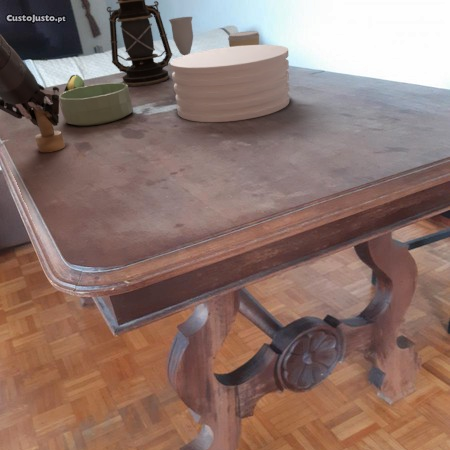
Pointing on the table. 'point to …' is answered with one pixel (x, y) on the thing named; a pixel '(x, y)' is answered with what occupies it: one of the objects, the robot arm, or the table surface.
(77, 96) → the bowl
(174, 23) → the chalice
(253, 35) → the coffee cup
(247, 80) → the plate stack
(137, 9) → the lantern
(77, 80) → the edible corn
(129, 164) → the table surface
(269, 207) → the table surface
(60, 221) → the table surface
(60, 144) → the pestle
